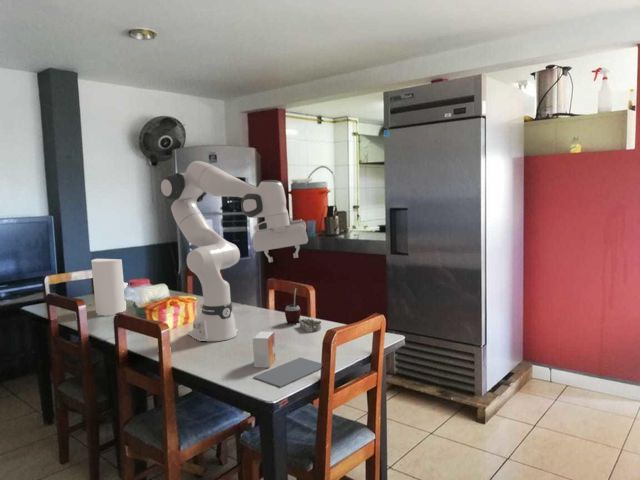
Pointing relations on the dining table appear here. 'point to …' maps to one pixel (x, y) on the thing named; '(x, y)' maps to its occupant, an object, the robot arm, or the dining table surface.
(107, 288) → the cylinder
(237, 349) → the dining table surface
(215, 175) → the robot arm
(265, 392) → the dining table surface
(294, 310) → the mate gourd
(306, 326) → the egg carton
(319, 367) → the slate mat
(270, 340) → the small box
